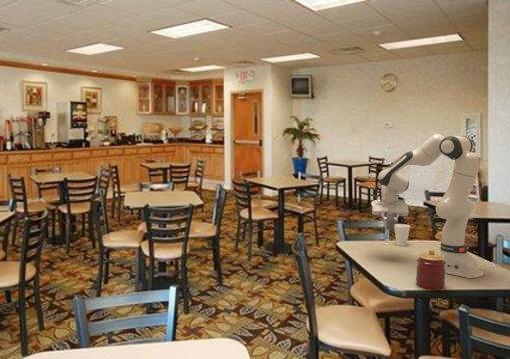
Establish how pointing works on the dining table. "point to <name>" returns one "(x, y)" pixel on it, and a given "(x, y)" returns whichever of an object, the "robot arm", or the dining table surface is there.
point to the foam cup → (401, 234)
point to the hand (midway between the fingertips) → (390, 220)
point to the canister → (430, 270)
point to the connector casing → (390, 220)
